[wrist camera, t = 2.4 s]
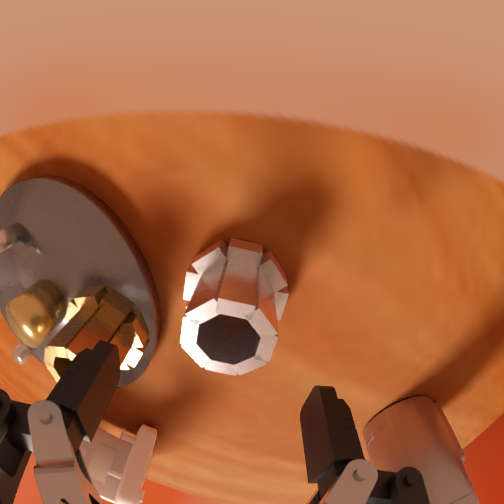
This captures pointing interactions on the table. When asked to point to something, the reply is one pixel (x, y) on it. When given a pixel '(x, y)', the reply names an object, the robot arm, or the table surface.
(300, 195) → the table surface
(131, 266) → the carrier
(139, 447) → the cable organizer
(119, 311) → the seated gear
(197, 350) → the gear
